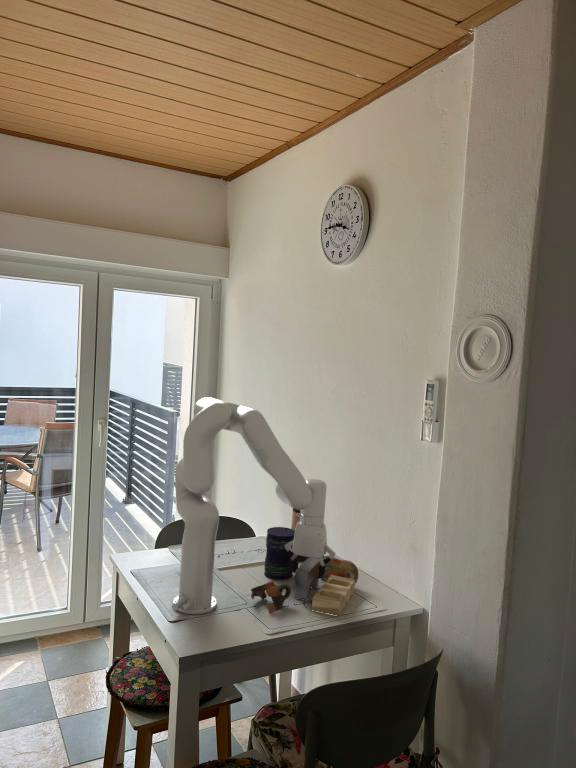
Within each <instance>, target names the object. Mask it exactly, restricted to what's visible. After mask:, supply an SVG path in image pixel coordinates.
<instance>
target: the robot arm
mask: <svg viewBox="0 0 576 768" xmlns="http://www.w3.org/2000/svg"><path fill="white" fill-rule="evenodd" d="M222 430H224V431H230V432H235V433H238V434H240V435H241V438H242V439H243V441H244V442H245V444H246V446H248V447H247V448H248V449H249V450H250V452H251V454H252V456H253V457H254V459H255V461H256V462H257V463H258V465H260V467H261V468H262V469H263V470H264V471H265V472H266V473H267V474H268V475H270V477H271V478H272V479H274V481H275V482H276V483H277V484H276V487H275V494H276V496H277V498H278V499H279V500H280V501H281V502H283V503H284V504H286V505H288V506H289V507H291V508H292V509H293V508H294V509H296V510H301V513H297V514H296V517H297V518H299V522H297V525H296V529H295V534H294V540H292V541H290V542H288V543H287V544H285V548H286V550H287V552H288V554H289V555H290V557H291V559H292V569H293V572H292V573H293V574H295V571H296V570H297V569H298V568H299V562H300V561H299V559H298V555H300V556H305V557H310V558H315V559H319V562H320V566H319V575H318V578H319V580H320V579H321V577H322V576H323V575H324V574H325V565H326V564H327V563H328V562H330V561H331V559H332V558H333V557H336V555H337V554H336V552H335V551H334V550H333V549H332V548H331V547H330V546H329V545H328V537H327V535H328V534H327V527H326V526H327V524H326V523H325V512H326V511H325V510H326V502H327V501H326V499H327V498H326V497H327V484H326V483H327V482H325V481H324V480H321V479H317V478H308V479H305V477H304V476H303V474H302V472H301V471H300V470H299V468H298V467H297V466H296V464H295V463H294V462H293V460H292V459H291V458H290V456H289V455H288V454H287V453H286V451H285V449H284V448H283V447H282V445H281V443H280V442H279V440H278V438H277V436H275V433H274V432H273V430H272V429H271V427H270V424H269V423H268V421H267V420H266V418H265V417H264V415H263V413H261V412H260V411H259V410H258V409H255V408H251V407H249V406H245V405H241V404H236V403H233V402H228V401H225V400H220V399H218V398H214V397H208V396H207V397H202V398H201V399H199V400H197V402H195V405H194V407H193V418H192V419H191V421H190V422H189V424H188V425H187V427H186V429H185V431H184V436H183V440H182V441H183V444H182V445H183V449H182V450H183V451H182V452H183V453H182V458H181V459H180V460H179V461H178V462H177V464H176V468H175V473H174V482H175V483H174V485H175V501H176V502H175V503H176V510H177V513H178V515H179V517H180V518H181V519H182V520H183V522H184V531H183V535H182V541H181V550H180V551H181V552H180V553H181V556H180V571H179V584H178V585H179V589H178V595H177V596H176V597H174V599H173V600H172V605H171V608H172V610H174V611H177V612H179V613H183V614H187V615H203V614H207V613H209V612H212V611H214V610H215V609H216V607H217V605H218V604H217V603H218V601H217V599H216V598H215V597H214V596H213V584H214V569H215V551H216V542H217V541H216V539H217V532H218V527H219V524H220V513H219V510H218V507H217V506H216V504H215V502H213V501H212V500H211V499H210V498H209V497H208V493H209V491H211V489H212V488H213V486H214V483H215V465H214V464H215V463H214V445H215V439H216V437H217V436H218V434H219V433H220V432H221V431H222ZM292 545H293V548H292V549H291V546H292ZM295 547H296V548H295ZM326 554H328V556H329V557H328V558H325V556H326ZM321 580H322V579H321Z"/></svg>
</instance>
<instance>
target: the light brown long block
mask: <svg viewBox="0 0 576 768" xmlns="http://www.w3.org/2000/svg"><path fill="white" fill-rule="evenodd" d="M355 587H356V583H355V580H354V579H349V578H344V577H339V576H334V575H331V576H330V577H329V578H328V580H327V581H324V583H323V585H322V586H321V587H320V588H319V589H318V591H317V592H316V593H315V594H314V596H313V597H312V602H311V611H312V610H314V611H319V612H323V613H329V614H333V615H337V616H338V615H339V614H340V615H341V613H342V612H343V610H344V609H345V607H346V606H345V605H348V603H347V602H349V601H350V600H349V599H351V598H352V597H353V595H354V593H355V591H356V589H355ZM351 596H352V597H351ZM343 608H344V609H343ZM342 609H343V610H342ZM341 611H342V612H341ZM340 612H341V613H340ZM340 615H339V616H340Z"/></svg>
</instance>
